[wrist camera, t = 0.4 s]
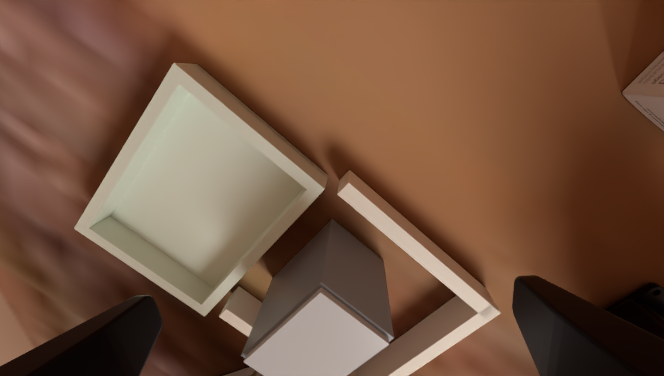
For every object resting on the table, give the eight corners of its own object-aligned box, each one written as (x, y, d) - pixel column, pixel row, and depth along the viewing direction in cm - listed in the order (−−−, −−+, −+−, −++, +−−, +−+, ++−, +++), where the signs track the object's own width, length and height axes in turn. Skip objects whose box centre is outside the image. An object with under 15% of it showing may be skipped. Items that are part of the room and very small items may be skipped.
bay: (485, 288, 22) (500, 313, 20) (356, 381, 27) (356, 410, 24) (349, 169, 20) (348, 182, 18) (231, 293, 24) (218, 316, 22)
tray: (328, 175, 20) (324, 189, 18) (219, 293, 24) (204, 316, 22) (196, 63, 18) (173, 62, 16) (103, 212, 23) (73, 228, 20)
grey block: (383, 260, 22) (394, 344, 15) (321, 313, 25) (307, 407, 18) (331, 218, 21) (320, 287, 15) (272, 277, 24) (238, 361, 17)
